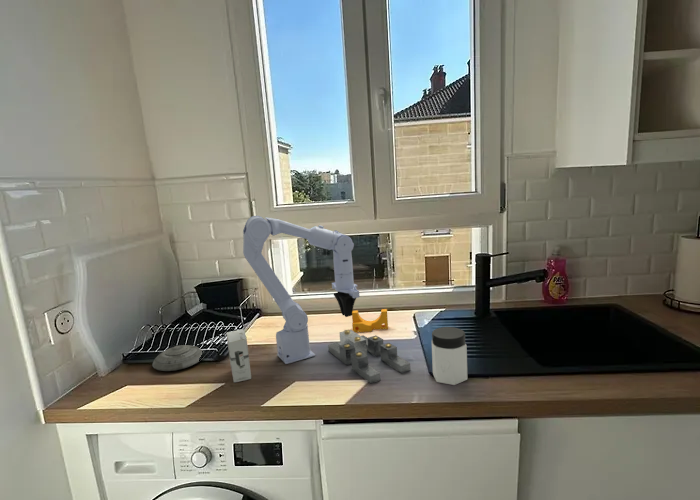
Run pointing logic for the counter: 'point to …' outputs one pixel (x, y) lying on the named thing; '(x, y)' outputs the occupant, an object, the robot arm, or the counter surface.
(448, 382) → the jar
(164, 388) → the counter surface
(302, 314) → the robot arm
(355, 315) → the pipe clamp
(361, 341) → the block with brass knobs
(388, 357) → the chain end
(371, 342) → the chain end
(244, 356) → the ink box
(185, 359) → the flying saucer
